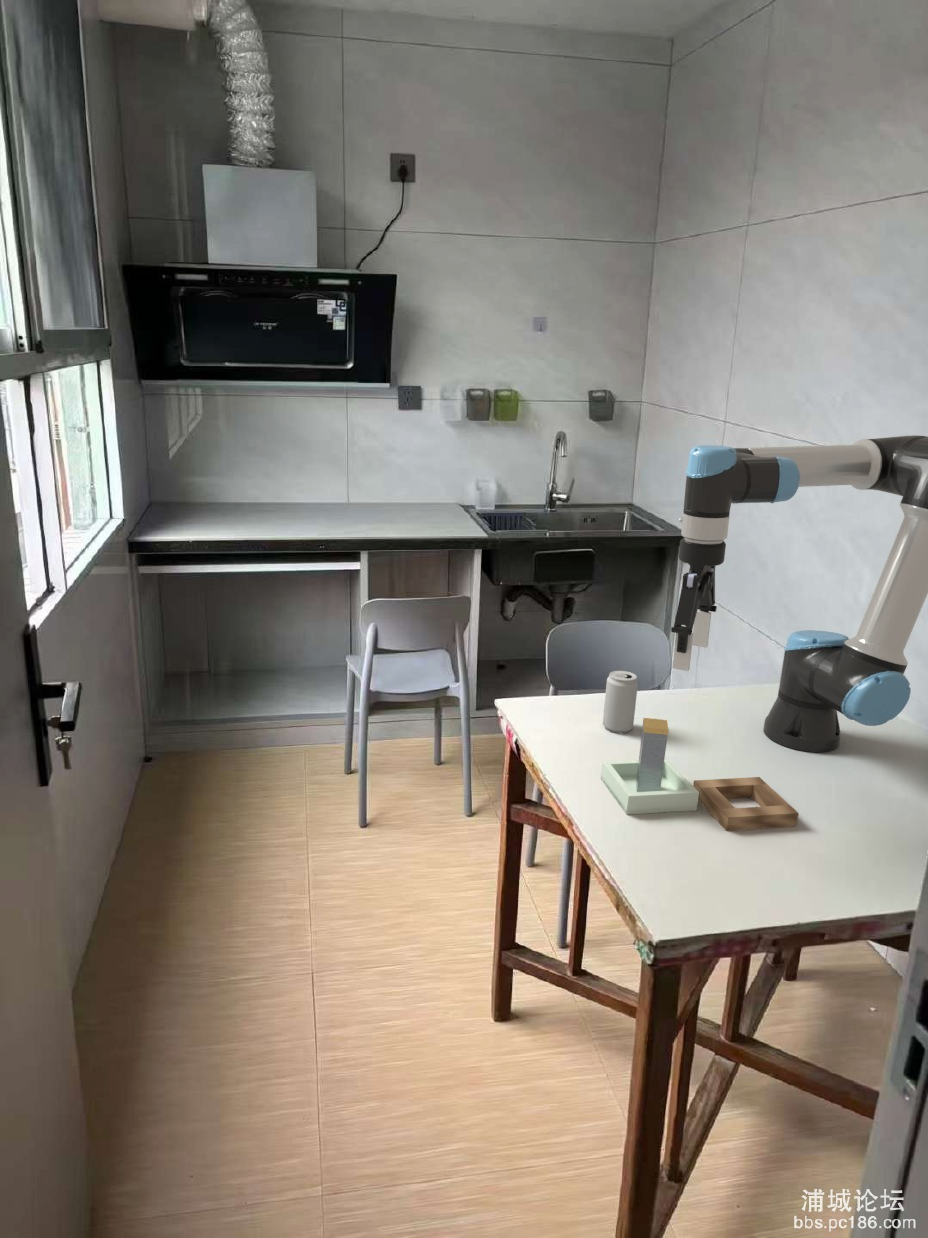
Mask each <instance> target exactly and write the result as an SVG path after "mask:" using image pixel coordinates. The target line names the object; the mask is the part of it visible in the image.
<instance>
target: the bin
mask: <svg viewBox="0 0 928 1238" xmlns="http://www.w3.org/2000/svg"><path fill="white" fill-rule="evenodd" d="M638 762H639V759H633V760H632V759H631V760H630V759H629V760H627V759H626V760H611V761H609V760H608V761H602V762H601V772H600V780H601V782H602V783H603V784H604V786H605V787H606V788H607V790H608V791H609V792H610V794H611V795H612V797H613V798H614V799H615V801H616V802H617V804H618V805H619V806H620V808H621V809H622V810H623V812H624V814H626V815H639V814H641V815H642V814H655V813H656V814H657V813H673V812H689V811H697V810H698V809H697V808H698V802H699V800H698V797H699V792H698V791H697V789H696V788H695V787H694V786H693V783H692V782H690V781H689V779H688V778H687V777H686V776H685V775H684V774H683V773H682V772H681V770H680V769H678V767H677V766H676V765H675V764H674V763H673V762H672V761H671V760H670V759H669V758H664V766H663V774H662V781H661V789H660V791H651V792H637V791H636V778H637V770H638Z"/></svg>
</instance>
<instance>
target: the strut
mask: <svg viewBox="0 0 928 1238" xmlns="http://www.w3.org/2000/svg"><path fill="white" fill-rule="evenodd" d="M669 730H670V729H669V724H668V720H667V719H660V718H651V717H643V720H642V729H641V740H640V745H639V755H638V760H639V762H638V770H637V778H636V791H637V792H651V791H660V789H661V781H662V774H663V766H664V759H666V758H665V756H666V749H667V742H668V735H669Z"/></svg>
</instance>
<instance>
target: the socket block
mask: <svg viewBox="0 0 928 1238" xmlns="http://www.w3.org/2000/svg"><path fill="white" fill-rule="evenodd" d="M692 785H693V786H694V787H695V788H696V789H697V791H698V792H699V797H698V802H700V803H701V805H702V806H703V807H704V808H705V809H706V811H708V813H710V814H711V816H712V817H713V818H714V819H715V820H716V821H717V822H718V824H720V826H721V827H722V828H723V829H724V830H725V831H729V832H730V831H741V830H756V829H757V830H758V829H773V828H789V827H797V823H798V820H799V819H798V818H799V812H798V811H797V810H796V809H795V808H794V807H793V806H791V804H790V803H788V802H787V801H786V800H785V799H784V798H783V797H781V796H780V794H779V793H777V792H776V791H775V790H774V789H773V788H772V787H771V786H770V785H769V784H768V783H767V782H766V781H764V780H763V779H762V778H761V777H760V776H752V777H749V776H748V777H735V778H716V779H712V778H711V779H698V780H695V779H694V780H693V783H692ZM742 798H743V799H744V798H750V799H753V800H754V802H755V803H757V804H758V805H759V806H752V807H748V806H747V807H735V806H734V805H733V804H732V803H731V802H730V801H729V800H728V799H742Z"/></svg>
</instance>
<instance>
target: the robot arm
mask: <svg viewBox="0 0 928 1238" xmlns="http://www.w3.org/2000/svg"><path fill="white" fill-rule="evenodd" d="M685 477H686V479H685V489H684V498H683V500H684V501H683V514H682V516H681V517H679V518H678V521H679V523H681V524H682V525H681V532H680V533H681V536H682V538H681V539H680V541H679V549H678V559H679V561H680V562H682V563H683V564H688V565H689V570H688V572H685V573H683V576H682V583H681V584H682V585H681V591H680V594H679V599H678V604H677V610H676V613H675V620H674V624H673V626H671V629H670V631H671V633H675V638H674V639H675V640H674V648H673V650H674V651H673V660H672V669H674V670H681V671H686V672H689V671H690V668H691V667H690V666H691V658H692V648H693V646H694V647H699V648H705V649H706V648H708V647H709V637H710V631H711V630H710V628H711V620H712V619H711V618H712V612H713V613H716V612H717V607H718V606H717V605H715V604H716V566H721V565H722V564H723V563H724V561H725V557H726V556H725V555H726V547H727V544H726V542H725V540H726V539H728V533H729V523H730V513H731V505H732V504H751V503H752V504H753V503H755V504H756V503H757V504H758V503H759V504H760V503H763V504H764V503H765V504H766V503H770V504H774V503H779V502H780V503H781V502H787V501H789V500H791V499H792V498H793V497H794V496H795V495H796V493H797V492H798V489H799V488H801V487H803V488H804V487H805V488H806V487H807V488H808V487H829V486H830V487H831V486H849V485H850V486H852V488H854V489H856V490H859V491H860V490H862V491H864V490H867V491H868V490H873V491H879V492H884V493H888V494H893V495H896V496H901V497H902V498H901V500H900V503H899V506H900V508H901V511H902V512H903V516H904V517H903V519H902V522H901V524H900V527H899V529H898V532H897V534H896V536H895V540H894V541H893V544H892V546H891V548H890V551H889V553H888V556H887V559H886V562H885V564H884V567H883V568H882V571H881V573H880V576H879V578H878V581H877V583H876V585H875V588H874V590H873V591H874V592H873V594H872V595H871V599H870V601H869V603H868V606H867V608H866V611H865V613H864V615H863V617H862V620H861V622H860V626H859V628H858V630H857V633H856V635H855V636H853V637H851V638H849V637H848V636H847V635H846V634H842V633H838V632H834V631H825V630H814V629H813V630H809V629H808V630H806V629H805V630H798V631H794V632H792V633H790V635H788V637H787V641H786V642H787V643H786V646H785V648H784V652H783V653H784V654H783V660H782V666H781V673H780V680H779V686H778V687H779V688H778V693H777V697H776V700H775V701H774V702H773V704H772V707H771V709H770V710H769V712H768V714H767V716H766V717H765V719H764V724H763V733H764V734H765V736H766V737H767V738H768V739H769V740H771V741H773V742H774V743H776V744H779V745H781V746H784V747H786V748H789V749H794V750H798V751H803V752H812V753H825V752H831V751H833V750H836V749H837V748H838V747H839V746H840V740H841V727H840V723H839V716H838V713H840V714H841V715H843V716H845V717H846V718H847V719H849V720H851V721H852V720H853V721H855V722H857V723H859V724H860V725H863V726H868V727H875V726H881V725H884V724H886V723H888V722H889V721H892V720H893V719H895V718H896V717H898V715H900V714H901V712H903V710H904V709H905V707H906V706H907V705H908V702H909V700H910V696H911V687H910V685H911V684H910V681H909V679H908V678H907V677H906V676H905V672H906V670H907V667H908V664H909V662H908V660H907V658H906V656H905V653H904V651H905V649H906V646H907V644H908V641H909V639H910V636H911V634H912V632H913V629H914V628H915V625H916V622H917V620H918V618H919V615H920V612H921V611H922V608H923V607H924V603H925V601H926V599H927V597H928V436H927V435H915V434H914V435H899V436H889V437H879V438H862V439H859V440H857V441H855V442H854V443H853V444H843V445H841V444H839V445H812V446H811V445H808V446H807V445H806V446H805V445H804V446H803V445H801V446H799V445H798V446H771V447H770V446H765V447H764V446H763V447H745V448H744V447H743V448H742V447H735V448H734V447H732V446H726V445H717V444H716V445H711V444H703V445H702V444H701V445H696V446H694V447H693V448H691V450H690V452H689V457H688V461H687V467H686V471H685Z"/></svg>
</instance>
